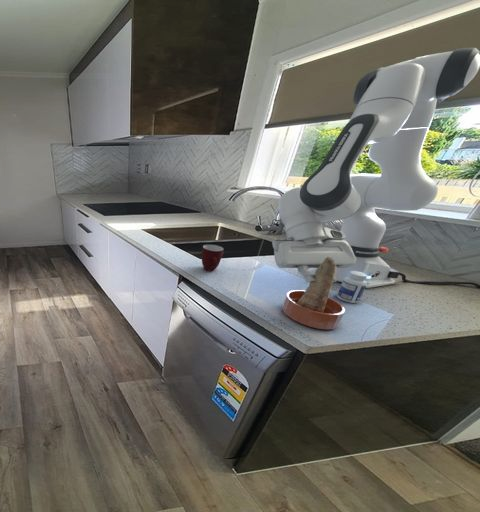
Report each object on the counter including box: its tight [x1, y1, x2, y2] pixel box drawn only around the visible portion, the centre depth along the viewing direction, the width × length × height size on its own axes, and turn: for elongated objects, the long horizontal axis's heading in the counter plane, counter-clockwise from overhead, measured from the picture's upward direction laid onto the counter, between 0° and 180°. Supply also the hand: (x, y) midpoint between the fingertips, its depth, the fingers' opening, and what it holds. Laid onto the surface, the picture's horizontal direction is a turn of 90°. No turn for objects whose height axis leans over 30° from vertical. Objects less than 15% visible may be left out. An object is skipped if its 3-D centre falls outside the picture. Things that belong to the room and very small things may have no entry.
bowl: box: [281, 289, 346, 330], centre depth 73 cm, size 13×13×6 cm
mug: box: [201, 244, 225, 272], centre depth 102 cm, size 10×8×10 cm
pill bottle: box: [336, 271, 367, 304], centre depth 81 cm, size 5×5×10 cm
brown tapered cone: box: [297, 257, 336, 313], centre depth 69 cm, size 6×18×6 cm
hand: (321, 281), depth 68 cm, fingers closed on brown tapered cone, 4 cm apart
